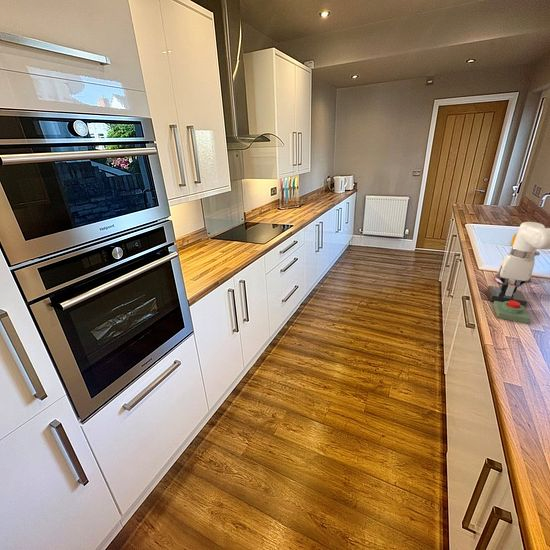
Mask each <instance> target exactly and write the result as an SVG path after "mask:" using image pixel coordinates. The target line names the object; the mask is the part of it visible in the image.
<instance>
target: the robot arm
mask: <svg viewBox="0 0 550 550" xmlns="http://www.w3.org/2000/svg"><path fill="white" fill-rule="evenodd" d="M516 234H517V235H516V238H515V241H514V244H513V246H511V250H510V252H508V253H506V254H505V256H504V258H503V259H504V260H503V262H502V264H501V266H500V265H499V266H500V268H499V267H498V269H499V271H498V270H497V271H498V273H497V272H496V273H495V274H494V279H495V278H497V279H499V280H501V282H502V283H503V284H502V283H501V284H502V285H501V286H500V287H501V291H502V293H503V294H505V292H506V290H507V287H508V285H507V283H508V280H509V279H514V280H515V282H514V284H515V289H514V291H513V293H515V292H516V290H518V288H519V287H520V286H522V285H525V284H531V283H532V278H531V277H532V274H533V271H534V267H535V261H536V256H540V254H541V252H540V251H537V250H548V249H550V227H546V226H545V225H544V224H542V223H541V222H537V221H534V222H533V221H525V222H522V223H520V225H519V227H518V230H517V232H516ZM501 268H502V269H501ZM512 295H513V294H512Z"/></svg>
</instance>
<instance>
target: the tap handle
mask: <svg viewBox="0 0 550 550" xmlns="http://www.w3.org/2000/svg"><path fill="white" fill-rule="evenodd" d="M507 285H508V287H507V290H506V292H505V295H506V296H512V294H513V291H514V289H515V284H514V282H513V281H512V280H508V283H507Z"/></svg>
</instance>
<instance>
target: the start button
mask: <svg viewBox="0 0 550 550" xmlns="http://www.w3.org/2000/svg"><path fill="white" fill-rule="evenodd" d="M508 306H510V307H512V308H519V306H520V303H519V302H517V301H514V300H510V301H509V302H508Z"/></svg>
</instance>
